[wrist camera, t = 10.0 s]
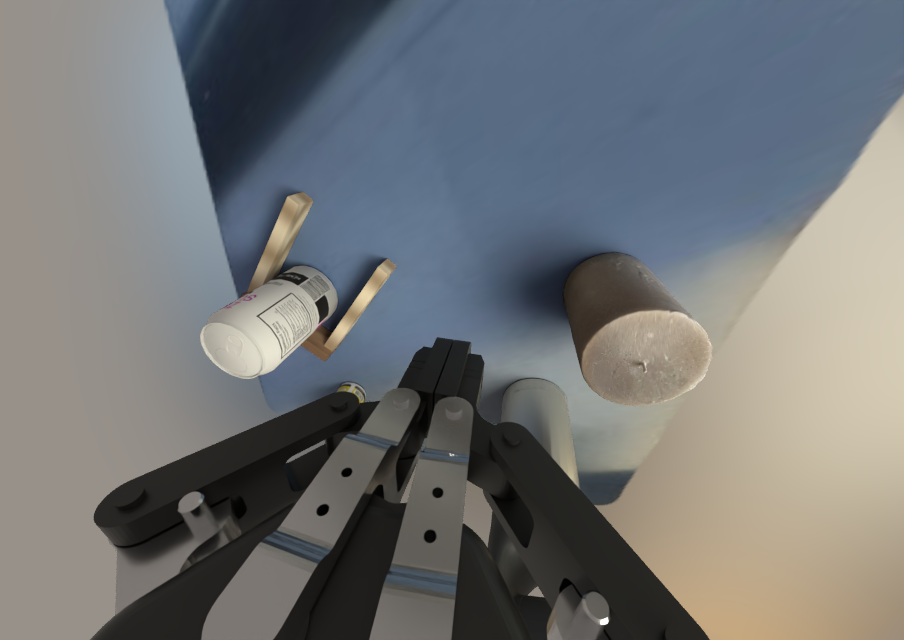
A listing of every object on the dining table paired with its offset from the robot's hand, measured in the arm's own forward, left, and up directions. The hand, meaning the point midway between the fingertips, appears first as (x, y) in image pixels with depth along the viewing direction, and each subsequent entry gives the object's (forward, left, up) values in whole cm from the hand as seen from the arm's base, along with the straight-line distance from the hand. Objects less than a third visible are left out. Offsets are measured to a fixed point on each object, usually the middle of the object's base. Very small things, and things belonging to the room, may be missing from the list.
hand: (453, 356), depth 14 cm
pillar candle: (-11, -11, -26) cm, 30 cm away
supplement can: (-3, +27, -26) cm, 38 cm away
